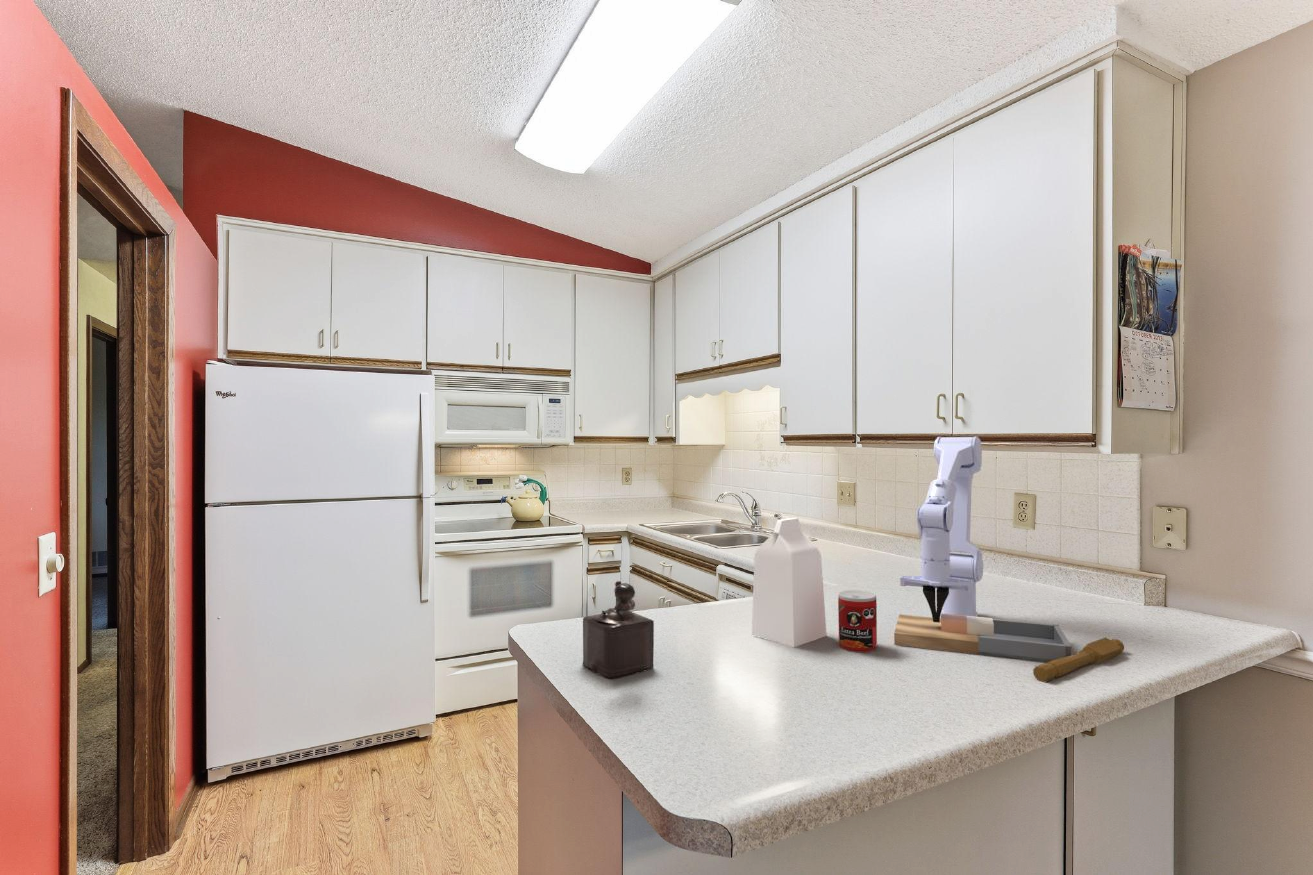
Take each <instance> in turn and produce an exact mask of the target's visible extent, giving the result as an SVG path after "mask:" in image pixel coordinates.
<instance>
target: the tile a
mask: <svg viewBox="0 0 1313 875" xmlns="http://www.w3.org/2000/svg"><path fill="white" fill-rule="evenodd" d="M940 618H941V631H948V632H957V633H966V634H967V617H966V616H964V615H954V614H944V613H942V612H941V615H940Z"/></svg>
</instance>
